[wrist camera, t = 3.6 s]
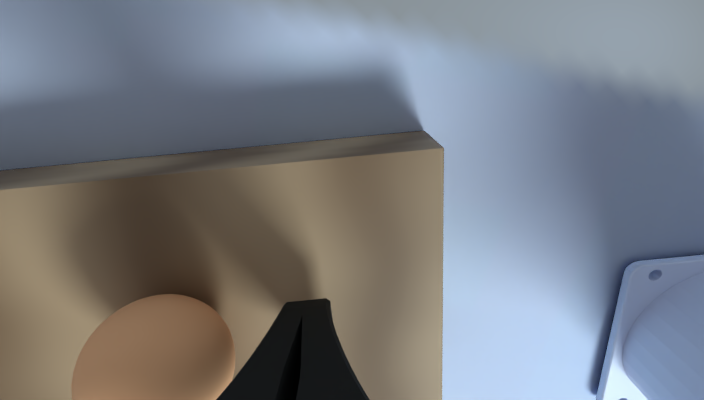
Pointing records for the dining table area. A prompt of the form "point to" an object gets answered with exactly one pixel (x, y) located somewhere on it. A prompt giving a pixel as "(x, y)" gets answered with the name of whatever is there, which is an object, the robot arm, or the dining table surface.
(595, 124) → the dining table surface
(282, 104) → the dining table surface
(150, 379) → the ball
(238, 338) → the deck
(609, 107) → the dining table surface
